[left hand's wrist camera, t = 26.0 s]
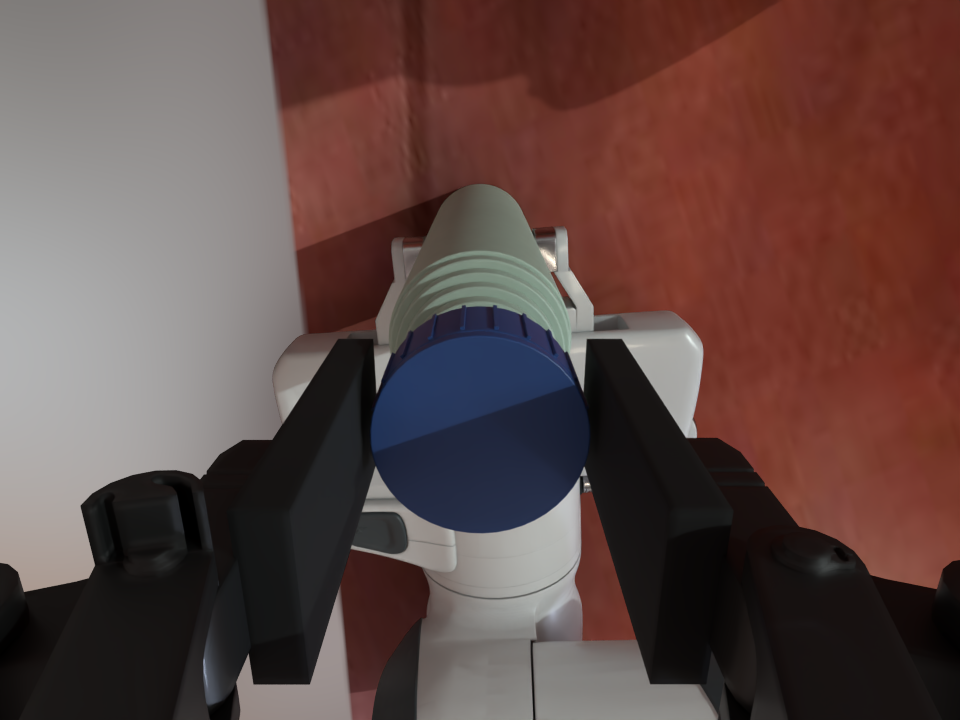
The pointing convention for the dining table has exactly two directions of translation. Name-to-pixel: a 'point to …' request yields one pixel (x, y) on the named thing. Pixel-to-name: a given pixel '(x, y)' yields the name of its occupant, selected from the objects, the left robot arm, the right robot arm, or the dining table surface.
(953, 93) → the dining table surface
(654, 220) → the dining table surface
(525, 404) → the cap
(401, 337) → the bottle
